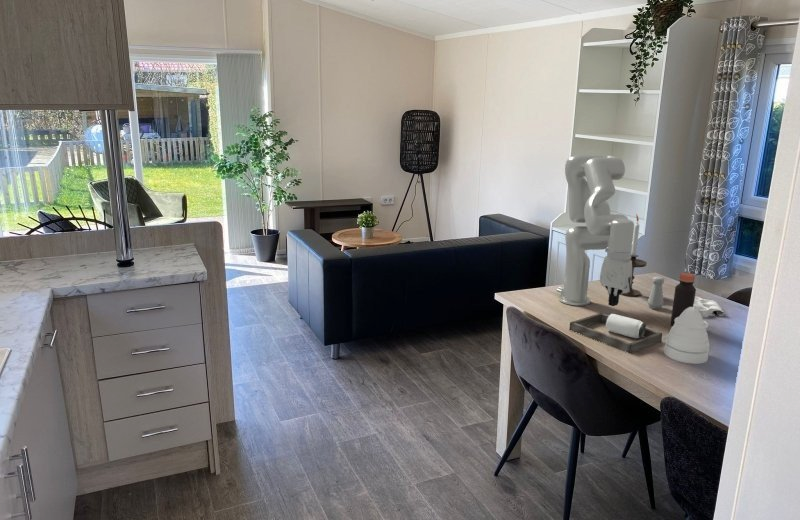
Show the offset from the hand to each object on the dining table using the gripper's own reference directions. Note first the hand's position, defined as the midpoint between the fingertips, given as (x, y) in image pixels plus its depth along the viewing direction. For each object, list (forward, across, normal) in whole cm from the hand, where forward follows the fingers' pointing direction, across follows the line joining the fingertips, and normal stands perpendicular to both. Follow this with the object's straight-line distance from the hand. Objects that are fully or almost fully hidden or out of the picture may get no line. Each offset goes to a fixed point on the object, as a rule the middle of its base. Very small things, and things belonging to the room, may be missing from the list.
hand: (613, 304), depth 207 cm
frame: (+11, +2, 0) cm, 11 cm away
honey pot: (+11, +26, +5) cm, 28 cm away
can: (+8, -2, +2) cm, 9 cm away
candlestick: (+12, -23, +47) cm, 54 cm away
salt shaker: (+12, -6, +39) cm, 41 cm away
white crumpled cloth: (+12, +5, +52) cm, 53 cm away
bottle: (+11, +11, +28) cm, 32 cm away
